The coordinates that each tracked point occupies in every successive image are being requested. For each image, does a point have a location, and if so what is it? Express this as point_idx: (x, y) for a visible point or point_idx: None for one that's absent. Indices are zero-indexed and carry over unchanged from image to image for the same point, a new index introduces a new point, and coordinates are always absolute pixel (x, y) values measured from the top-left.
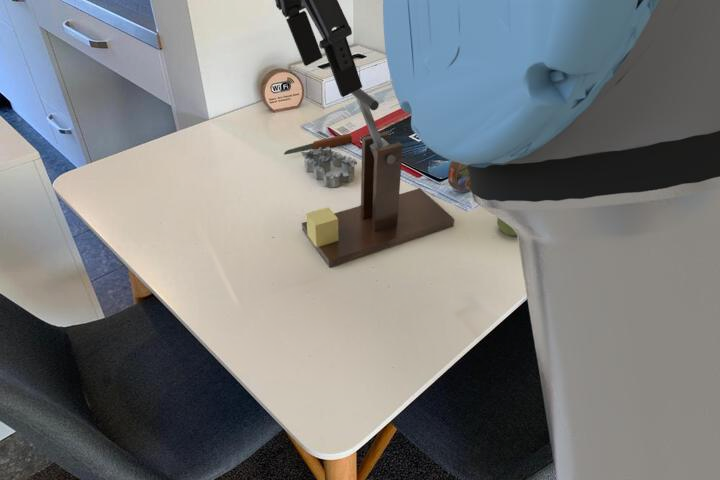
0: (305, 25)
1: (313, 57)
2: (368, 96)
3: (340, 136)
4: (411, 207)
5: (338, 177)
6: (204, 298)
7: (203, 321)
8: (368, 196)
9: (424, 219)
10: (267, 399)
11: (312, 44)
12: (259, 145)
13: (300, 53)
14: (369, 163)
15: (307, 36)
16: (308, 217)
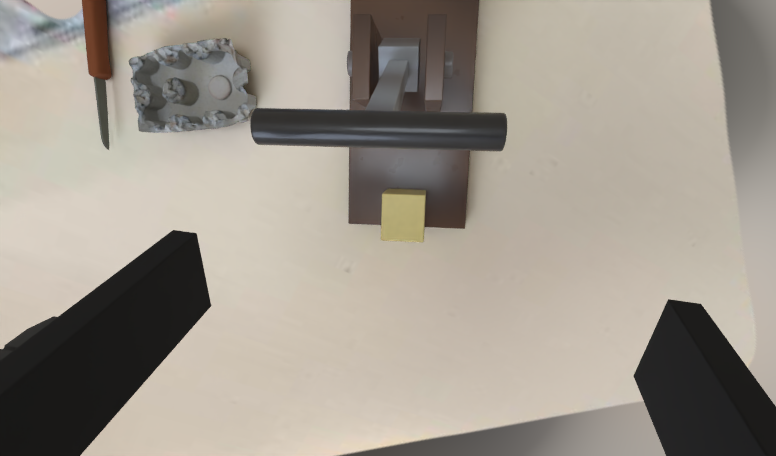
0: (59, 380)
1: (192, 279)
2: (456, 131)
3: (87, 4)
4: (403, 6)
5: (247, 95)
6: (430, 403)
7: (471, 418)
8: None
9: (451, 5)
10: (637, 400)
11: (149, 300)
12: (50, 174)
13: (171, 346)
14: None
15: (114, 341)
16: (392, 240)
